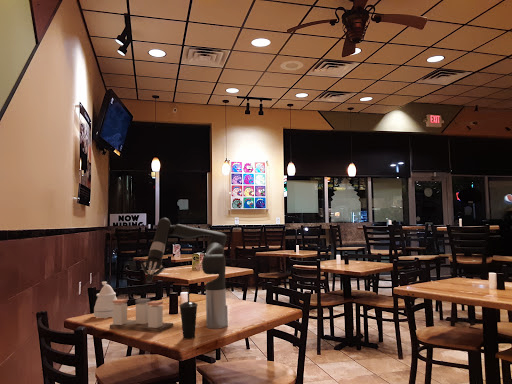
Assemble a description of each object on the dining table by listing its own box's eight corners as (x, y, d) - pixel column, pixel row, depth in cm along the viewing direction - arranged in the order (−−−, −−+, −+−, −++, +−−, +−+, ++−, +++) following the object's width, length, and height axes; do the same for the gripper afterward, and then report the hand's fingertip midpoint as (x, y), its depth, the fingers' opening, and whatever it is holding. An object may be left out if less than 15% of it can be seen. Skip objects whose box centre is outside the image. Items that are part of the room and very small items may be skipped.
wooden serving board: (173, 326, 194) (173, 323, 194) (159, 332, 183) (159, 329, 183) (125, 322, 204) (125, 319, 204) (109, 328, 194) (109, 324, 194)
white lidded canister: (162, 325, 188) (162, 301, 189) (157, 327, 184) (157, 303, 185) (153, 324, 190) (153, 300, 191) (147, 327, 186) (147, 302, 187)
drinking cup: (199, 334, 178) (198, 287, 179) (197, 339, 170) (196, 290, 172) (181, 335, 178) (180, 288, 179) (178, 340, 170) (178, 291, 171)
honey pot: (88, 317, 218) (88, 283, 220) (107, 312, 230) (107, 279, 231) (105, 319, 212) (105, 284, 214) (124, 314, 224) (124, 280, 225)
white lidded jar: (150, 322, 196) (149, 298, 196) (144, 324, 192) (144, 300, 193) (141, 321, 198) (140, 298, 198) (135, 323, 194) (135, 299, 194)
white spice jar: (127, 322, 196) (127, 299, 196) (121, 325, 192) (121, 301, 192) (118, 322, 197) (118, 298, 198) (112, 324, 194) (112, 300, 194)
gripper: (168, 257, 226) (161, 286, 216) (144, 252, 225) (136, 282, 215) (169, 251, 220) (161, 281, 210) (144, 246, 219) (135, 276, 209)
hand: (148, 281), depth 213 cm, fingers closed
